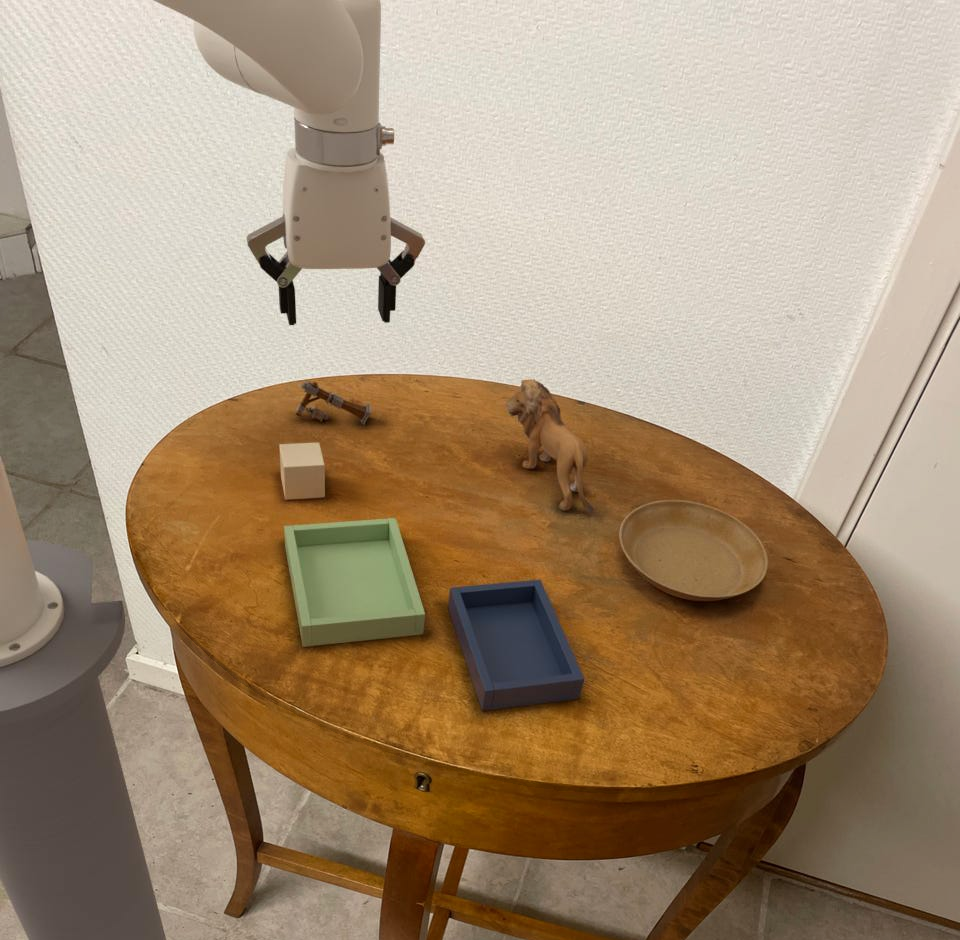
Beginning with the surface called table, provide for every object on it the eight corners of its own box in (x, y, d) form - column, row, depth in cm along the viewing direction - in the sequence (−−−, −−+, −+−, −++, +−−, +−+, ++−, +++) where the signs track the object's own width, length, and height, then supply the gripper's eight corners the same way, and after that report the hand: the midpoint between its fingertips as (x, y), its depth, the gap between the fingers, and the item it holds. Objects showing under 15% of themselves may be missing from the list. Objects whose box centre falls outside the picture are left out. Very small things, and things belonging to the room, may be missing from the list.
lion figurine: (491, 450, 105) (501, 378, 99) (529, 439, 108) (541, 367, 102) (574, 523, 98) (590, 449, 91) (612, 509, 100) (631, 436, 94)
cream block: (285, 500, 95) (283, 467, 92) (280, 476, 98) (279, 444, 95) (325, 497, 96) (324, 464, 93) (319, 474, 99) (319, 442, 96)
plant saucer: (790, 594, 93) (799, 574, 91) (669, 632, 87) (676, 612, 86) (701, 508, 102) (708, 488, 100) (586, 537, 96) (591, 516, 94)
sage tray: (302, 647, 81) (301, 626, 79) (285, 546, 90) (284, 525, 88) (423, 634, 84) (425, 614, 82) (394, 537, 93) (395, 517, 91)
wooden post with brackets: (288, 406, 106) (304, 373, 103) (353, 433, 109) (370, 402, 106) (287, 415, 104) (303, 382, 102) (354, 442, 108) (371, 411, 105)
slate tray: (481, 711, 78) (485, 691, 76) (447, 607, 87) (449, 587, 85) (579, 699, 80) (584, 679, 79) (536, 599, 89) (540, 579, 87)
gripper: (421, 128, 91) (412, 299, 103) (236, 124, 86) (249, 302, 99) (438, 157, 86) (427, 333, 98) (242, 154, 81) (256, 338, 94)
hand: (338, 317), depth 98 cm, fingers open, 9 cm apart
